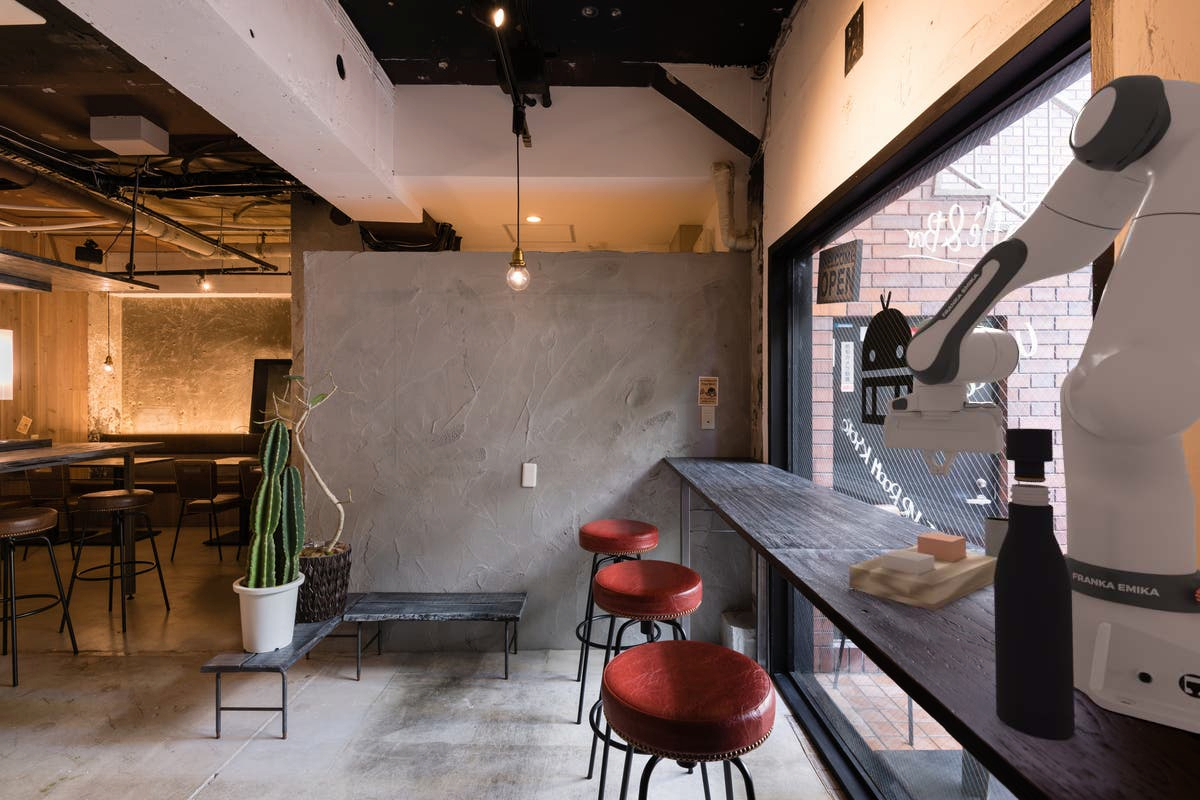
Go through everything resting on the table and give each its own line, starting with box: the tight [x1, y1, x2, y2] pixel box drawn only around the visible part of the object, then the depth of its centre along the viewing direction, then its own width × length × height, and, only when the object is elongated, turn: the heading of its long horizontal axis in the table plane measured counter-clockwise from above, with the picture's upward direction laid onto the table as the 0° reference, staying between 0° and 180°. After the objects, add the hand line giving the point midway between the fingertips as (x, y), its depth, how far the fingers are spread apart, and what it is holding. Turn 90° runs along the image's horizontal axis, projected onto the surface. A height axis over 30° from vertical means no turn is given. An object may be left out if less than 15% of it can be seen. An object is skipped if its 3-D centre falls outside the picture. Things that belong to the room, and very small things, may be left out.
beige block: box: [882, 548, 935, 576], centre depth 101 cm, size 6×6×4 cm
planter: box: [984, 516, 1008, 558], centre depth 112 cm, size 4×4×10 cm
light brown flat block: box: [848, 544, 997, 611], centre depth 105 cm, size 14×27×4 cm, turn 127°
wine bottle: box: [993, 427, 1076, 741], centre depth 59 cm, size 6×6×30 cm
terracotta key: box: [917, 531, 967, 563], centre depth 109 cm, size 6×6×4 cm
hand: (939, 475), depth 109 cm, fingers closed
